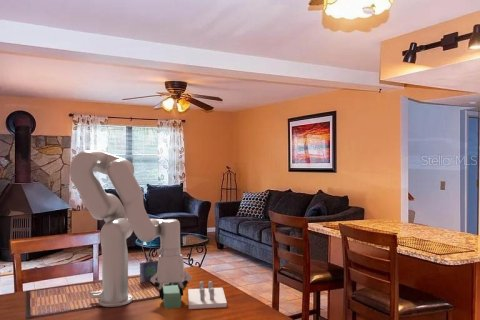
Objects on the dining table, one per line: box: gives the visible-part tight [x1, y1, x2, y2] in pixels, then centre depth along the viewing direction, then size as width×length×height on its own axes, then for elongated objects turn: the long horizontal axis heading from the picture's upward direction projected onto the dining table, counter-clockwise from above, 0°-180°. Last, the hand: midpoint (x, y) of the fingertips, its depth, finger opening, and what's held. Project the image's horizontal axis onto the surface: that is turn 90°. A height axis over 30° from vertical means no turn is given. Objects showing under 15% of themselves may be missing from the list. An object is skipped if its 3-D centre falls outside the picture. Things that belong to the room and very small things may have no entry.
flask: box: [139, 256, 158, 284], centre depth 186 cm, size 9×3×11 cm, turn 122°
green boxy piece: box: [162, 285, 182, 309], centre depth 160 cm, size 6×14×4 cm, turn 14°
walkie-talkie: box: [163, 275, 187, 288], centre depth 178 cm, size 9×4×20 cm
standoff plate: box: [187, 280, 228, 310], centre depth 161 cm, size 14×18×6 cm
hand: (171, 297), depth 160 cm, fingers closed on green boxy piece, 6 cm apart
